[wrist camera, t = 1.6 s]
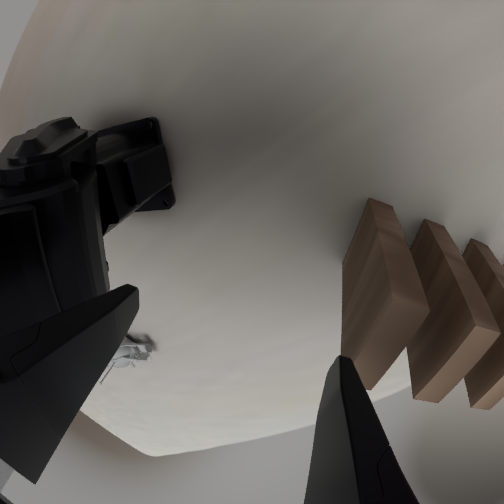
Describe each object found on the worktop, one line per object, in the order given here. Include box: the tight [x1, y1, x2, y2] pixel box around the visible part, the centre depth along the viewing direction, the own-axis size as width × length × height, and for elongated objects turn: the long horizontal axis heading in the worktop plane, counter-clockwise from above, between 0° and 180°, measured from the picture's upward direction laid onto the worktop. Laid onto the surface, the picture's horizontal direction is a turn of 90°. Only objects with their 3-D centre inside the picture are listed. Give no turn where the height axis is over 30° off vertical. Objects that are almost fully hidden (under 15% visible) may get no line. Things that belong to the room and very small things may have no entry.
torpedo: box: [99, 336, 155, 384], centre depth 31 cm, size 18×5×7 cm, turn 108°
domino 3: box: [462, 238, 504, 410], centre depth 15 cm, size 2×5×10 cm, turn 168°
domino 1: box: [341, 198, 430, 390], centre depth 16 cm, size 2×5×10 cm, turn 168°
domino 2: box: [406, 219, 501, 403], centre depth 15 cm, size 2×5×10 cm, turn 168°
